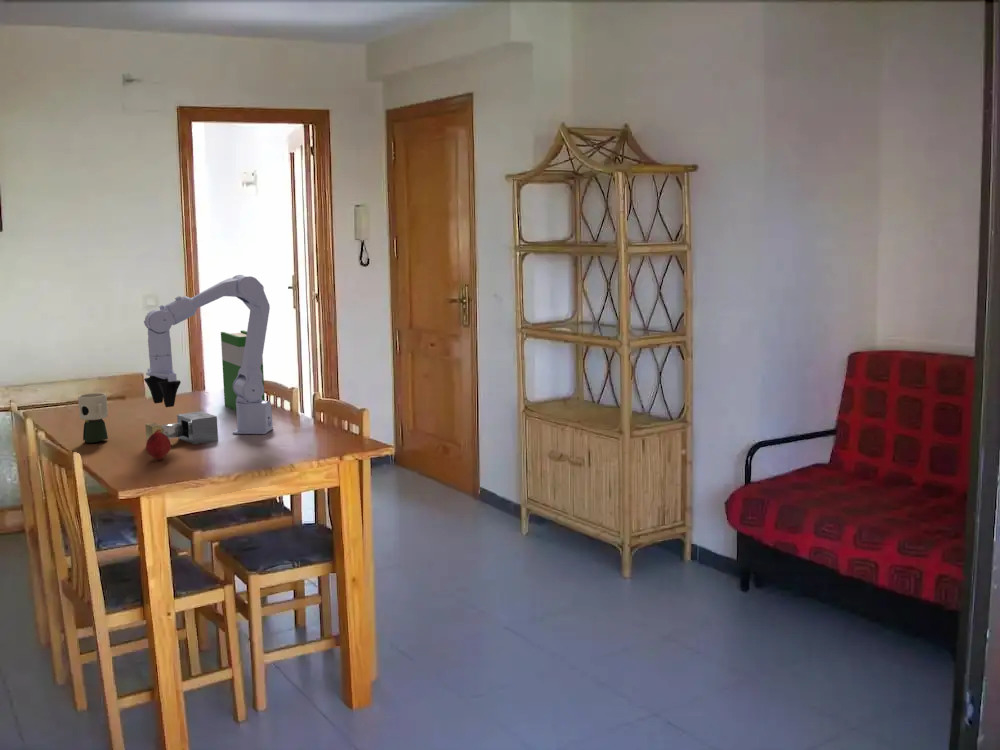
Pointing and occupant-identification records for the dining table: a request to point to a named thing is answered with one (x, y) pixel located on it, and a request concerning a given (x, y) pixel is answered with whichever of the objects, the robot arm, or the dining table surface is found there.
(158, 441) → the onion
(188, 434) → the housing
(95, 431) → the character mug
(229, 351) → the hardback book
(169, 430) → the end cover
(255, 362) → the robot arm
